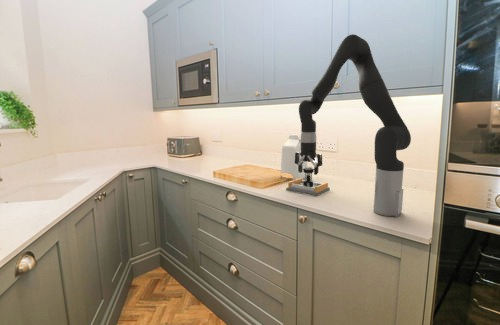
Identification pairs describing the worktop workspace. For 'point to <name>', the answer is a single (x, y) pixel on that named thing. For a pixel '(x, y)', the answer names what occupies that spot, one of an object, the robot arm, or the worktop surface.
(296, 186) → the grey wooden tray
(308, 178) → the dark piece
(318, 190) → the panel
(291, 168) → the milk
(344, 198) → the worktop surface
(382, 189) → the robot arm
